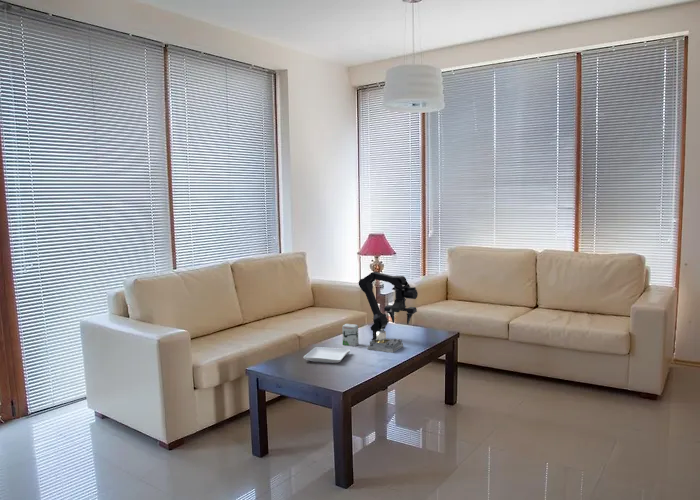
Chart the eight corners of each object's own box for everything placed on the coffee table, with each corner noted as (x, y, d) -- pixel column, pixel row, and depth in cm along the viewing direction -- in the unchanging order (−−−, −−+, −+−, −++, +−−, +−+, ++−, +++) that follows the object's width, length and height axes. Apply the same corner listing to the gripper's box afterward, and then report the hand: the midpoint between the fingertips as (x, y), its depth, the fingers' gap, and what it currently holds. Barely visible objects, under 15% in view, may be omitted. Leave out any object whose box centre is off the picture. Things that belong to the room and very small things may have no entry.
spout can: (374, 344, 313) (374, 330, 312) (379, 342, 317) (378, 327, 316) (383, 345, 310) (383, 330, 309) (387, 343, 315) (387, 328, 314)
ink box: (342, 345, 321) (341, 325, 320) (345, 342, 326) (344, 323, 324) (355, 346, 318) (355, 326, 317) (358, 344, 322) (358, 324, 321)
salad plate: (351, 354, 303) (351, 348, 303) (340, 365, 283) (340, 359, 282) (315, 352, 309) (315, 346, 308) (302, 363, 288) (302, 357, 288)
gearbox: (367, 349, 310) (367, 341, 310) (378, 343, 323) (378, 335, 322) (392, 352, 303) (392, 344, 302) (402, 346, 315) (402, 338, 314)
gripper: (379, 298, 317) (380, 324, 318) (409, 301, 307) (409, 328, 309) (388, 295, 326) (388, 320, 328) (416, 297, 317) (417, 323, 319)
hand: (400, 323), depth 321 cm, fingers open, 9 cm apart
